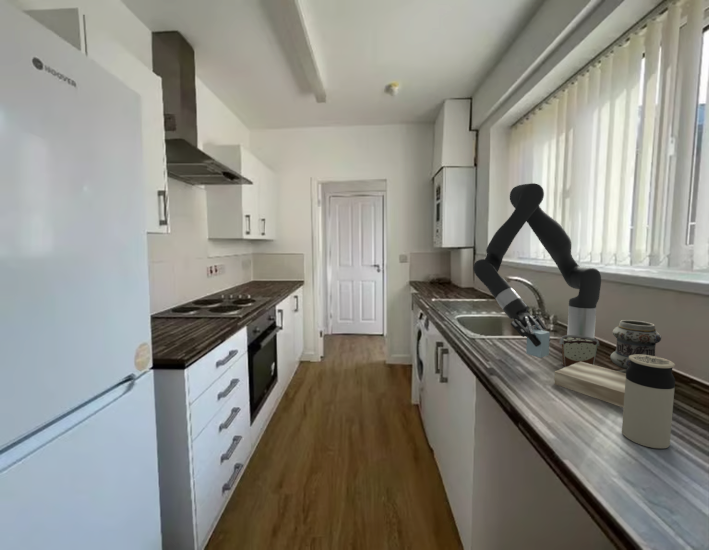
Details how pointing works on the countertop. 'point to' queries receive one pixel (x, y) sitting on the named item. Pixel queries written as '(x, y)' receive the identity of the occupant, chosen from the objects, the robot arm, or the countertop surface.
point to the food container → (578, 349)
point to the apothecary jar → (633, 341)
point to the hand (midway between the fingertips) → (543, 343)
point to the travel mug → (648, 401)
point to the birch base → (593, 382)
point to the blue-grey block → (542, 348)
